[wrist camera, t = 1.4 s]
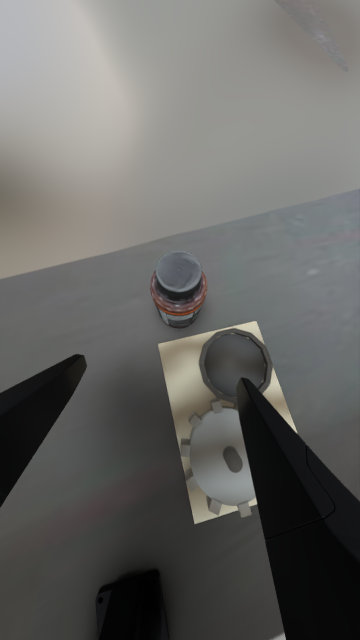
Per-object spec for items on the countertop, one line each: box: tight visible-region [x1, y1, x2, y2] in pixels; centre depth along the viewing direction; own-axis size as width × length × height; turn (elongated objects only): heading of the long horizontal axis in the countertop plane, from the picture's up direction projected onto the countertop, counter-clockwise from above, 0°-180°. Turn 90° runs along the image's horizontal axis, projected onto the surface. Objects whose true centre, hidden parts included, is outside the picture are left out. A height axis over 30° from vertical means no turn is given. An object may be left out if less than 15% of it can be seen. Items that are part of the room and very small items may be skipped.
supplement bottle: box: [150, 251, 207, 328], centre depth 19 cm, size 6×6×11 cm
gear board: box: [158, 321, 297, 524], centre depth 19 cm, size 20×14×4 cm
